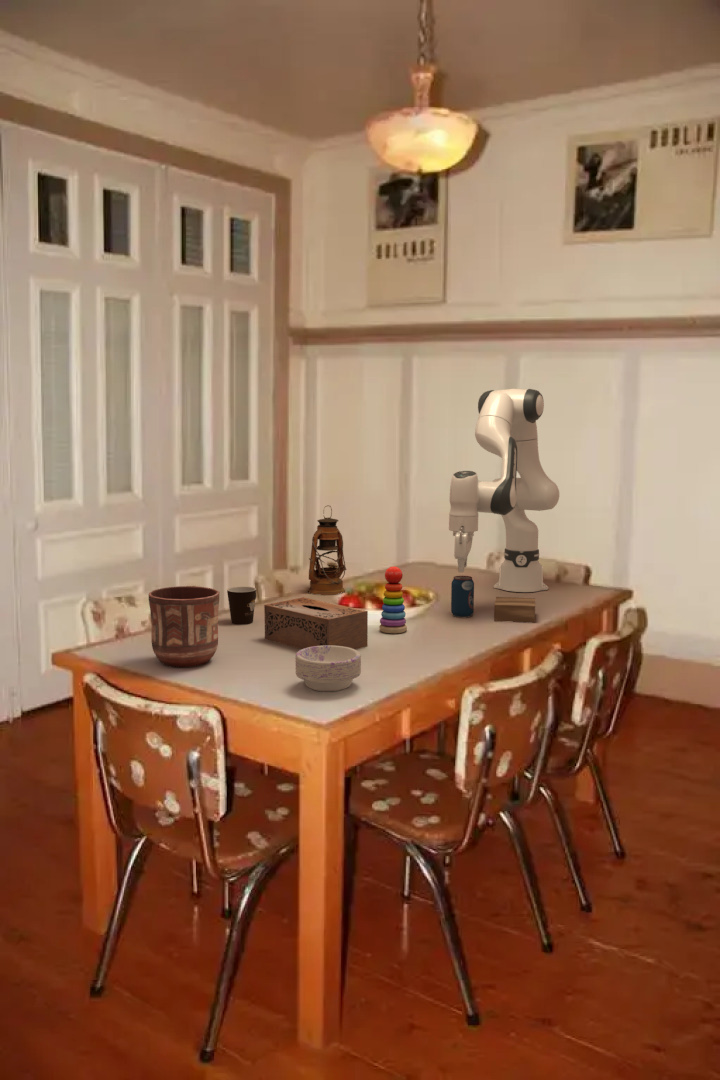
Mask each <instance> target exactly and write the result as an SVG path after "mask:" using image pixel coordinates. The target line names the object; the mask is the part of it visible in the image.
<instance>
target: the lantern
mask: <svg viewBox="0 0 720 1080" xmlns="http://www.w3.org/2000/svg"><path fill="white" fill-rule="evenodd" d="M326 507H329V508H330V510H331V512H330V517H325V516H323V517H324V518H321V519H317V520H316V521H317V523H318V525H317V527H316V531H315V532H314V533H313V535H312V539H311V551H310V558H308V559H309V569H308V580H309V588H308V590H307V592H308V591H309V592H310V593H309V594H311V593H313V594H312V595H316V594H321V595H320V596H333V595H339V594H338V593H341V592H344V591H345V592H346V590H345V588H344V586H343V585H344V581H343V578H344V577H345V575H346V571H347V568H346V561H345V556H344V539H343V538H344V537H343V535H342V533H341V531H340V530H339V528H338V526H337V523H338V522H339V519H336V518H332V514H333V509H332V507H331V505H325V506H324V507H323V509H325V508H326ZM323 513H325V510H323ZM318 541H319V542H318ZM318 543H319V544H318ZM319 551H323V553H322V554H320V553H319ZM326 551H327V552H326ZM332 553H336V555H337V557H336V558H337V559H334V558H331V557H329V556H327V555H329V554H332ZM322 557H324V558H327V559H329V560H332V561H334V563H337V564H338V565H335V564H334V565H333V564H327V563H325V562H324V561H323V560H322V559H321V558H322ZM323 563H324V564H326V565H327V566H328V567H327V566H326V567H325V566H323ZM340 577H341V578H340ZM345 592H344V593H345ZM341 594H342V593H341Z"/></svg>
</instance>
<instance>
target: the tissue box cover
mask: <svg viewBox="0 0 720 1080" xmlns="http://www.w3.org/2000/svg"><path fill="white" fill-rule="evenodd" d="M263 607H264V611H263V612H264V640H266V641H270V642H274V643H278V644H281V645H285V646H289V647H293V648H296V649H299V650H301V649H304V648H308V647H313V646H324V645H332V646H343V647H349V648H352V649H355V650H360V649H363V648H366V647H368V646H369V645H368V640H369V639H368V637H369V636H368V626H369V625H368V619H369V617H368V614H369V613H368V612H369V611H368V610H365V609H360V608H356V607H350V606H347V605H340V604H337V603H332V602H331V603H330V602H327V601H322V600H317V599H313V598H307V597H304V596H303V597H299V598H294V599H293V598H292V599H288V600H283V601H277V602H273V603H267V604H264V606H263Z"/></svg>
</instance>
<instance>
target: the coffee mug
mask: <svg viewBox="0 0 720 1080" xmlns="http://www.w3.org/2000/svg"><path fill="white" fill-rule="evenodd" d="M226 590H227V592H226V593H227V599H228V606H229V607H228V608H229V612H230V613H229V614H230V622H231V624H233V625H236V626H237V625H238V626H240V625H241V626H242V625H243V626H244V625H250V624H253V623H254V616H255V615H254V614H255V613H254V612H255V606H256V599H257V588H255V587H252V586H233V587H229V588H227V589H226Z"/></svg>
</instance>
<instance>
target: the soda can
mask: <svg viewBox="0 0 720 1080" xmlns="http://www.w3.org/2000/svg"><path fill="white" fill-rule="evenodd" d="M450 595H451V597H450V612H451V614H452V616H453V617H455V618H461V617H466V618H470V616H471V617H472V615H473V614H474V611H475V610H474V609H475V608H474V606H475V605H474V604H475V602H474V601H475V582H474V579H473V577H472V576H470V575H455V576H453V579H452V581H451V593H450Z"/></svg>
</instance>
